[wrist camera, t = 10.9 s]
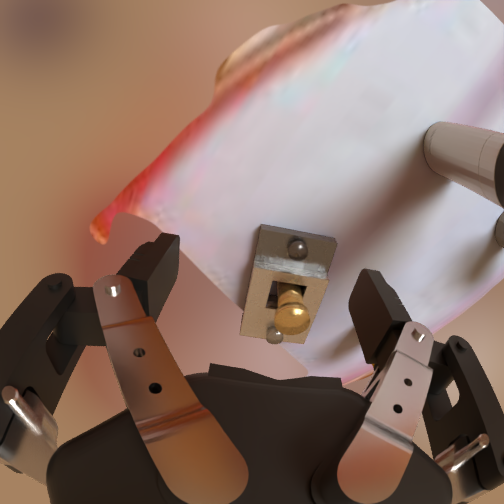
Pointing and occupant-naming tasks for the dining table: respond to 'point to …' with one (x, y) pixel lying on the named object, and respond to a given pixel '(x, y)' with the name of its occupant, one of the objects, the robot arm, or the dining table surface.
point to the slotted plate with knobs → (285, 278)
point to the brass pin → (290, 310)
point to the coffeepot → (500, 231)
